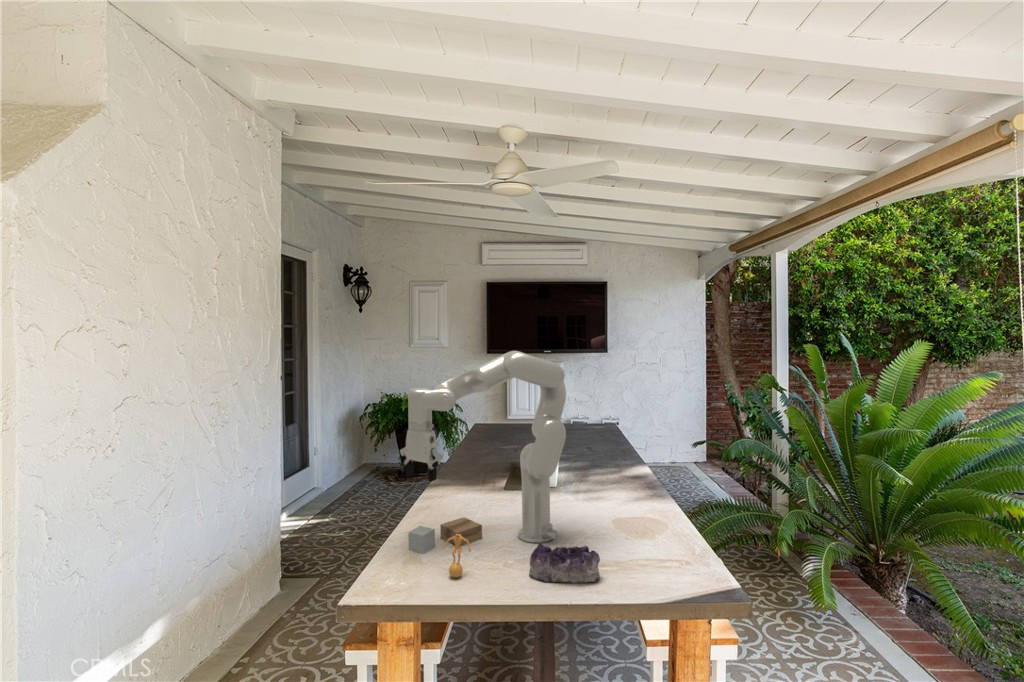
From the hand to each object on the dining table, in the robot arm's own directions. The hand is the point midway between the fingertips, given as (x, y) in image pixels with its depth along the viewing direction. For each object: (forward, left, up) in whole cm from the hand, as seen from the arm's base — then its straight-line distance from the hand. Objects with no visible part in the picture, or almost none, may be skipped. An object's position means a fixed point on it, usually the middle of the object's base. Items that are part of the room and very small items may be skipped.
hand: (421, 478), depth 183 cm
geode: (-47, -16, -23) cm, 55 cm away
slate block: (-1, +1, -23) cm, 23 cm away
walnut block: (-4, -13, -23) cm, 27 cm away
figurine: (-24, +5, -23) cm, 34 cm away
